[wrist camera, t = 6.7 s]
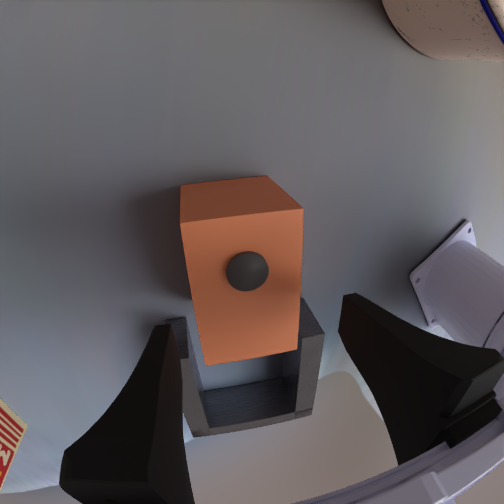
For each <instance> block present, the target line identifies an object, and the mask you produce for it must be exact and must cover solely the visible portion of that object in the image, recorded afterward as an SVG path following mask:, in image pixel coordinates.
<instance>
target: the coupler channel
mask: <svg viewBox="0 0 504 504" xmlns="http://www.w3.org/2000/svg"><path fill="white" fill-rule="evenodd" d="M165 324H171V327H172V331H173V335H174V339H175V342H176V346H177V350H178V353H179V357H180V361H181V371H182V381H183V404H182V411H183V413H184V416H185V418H186V421H187V423H188V426H189V428H190V431H191V433H192V435H193V437H201V436H209V435H216V434H223V433H229V432H235V431H241V430H247V429H252V428H257V427H262V426H267V425H272V424H276V423H281V422H285V421H290V420H293V419H297V418H301V417H305V416H309V415H311V414H312V409H313V403H314V398H315V392H316V386H317V381H318V375H319V368H320V362H321V356H322V349H323V342H324V335H325V333H324V332H323V330H322V328H321V327H320V325H319V323H318V322H317V320H316V318H315V317H314V315H313V313H312V312H311V310H310V308H309V307H308V305H307V303H306V302H305V300H304V298H303V299H300V313H299V329H298V344H297V350H292V351H287V352H283V363H282V377H281V378H276V379H271V380H266V381H261V382H256V383H251V384H245V385H240V386H234V387H228V388H221V389H215V390H208V391H204V390H203V387H202V383H201V379H200V375H199V371H198V367H197V363H196V359H195V355H194V351H193V346H192V342H191V338H190V333H189V329H188V324H187V320H186V317H185V318H177V319H170V320H165Z"/></svg>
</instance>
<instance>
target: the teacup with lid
mask: <svg viewBox="0 0 504 504" xmlns="http://www.w3.org/2000/svg"><path fill="white" fill-rule="evenodd" d="M382 3H383V6H384V8H385V11H386V13H387V15H388V17H389V19H390V20H391V22H392V24H393V25H394V27H395V28H396V30H397V31H398V32H399V33H400V35H401V36H402V37H403V38H404V39H405V40H406V41H407V42H408V43H409V44H410V45H411V46H412V47H414V48H415V49H416V50H418V51H419V52H421V53H423V54H424V55H426V56H429V57H431V58H435V59H458V60H485V61H499V62H504V0H382Z"/></svg>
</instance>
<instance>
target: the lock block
mask: <svg viewBox="0 0 504 504" xmlns="http://www.w3.org/2000/svg"><path fill="white" fill-rule="evenodd" d="M180 227H181V234H182V241H183V247H184V253H185V260H186V266H187V272H188V278H189V283H190V289H191V295H192V300H193V306H194V311H195V316H196V321H197V326H198V331H199V336H200V341H201V346H202V351H203V356H204V360H205V365H206V366H208V365H214V364H221V363H227V362H234V361H240V360H245V359H251V358H257V357H262V356H267V355H272V354H277V353H282V352H287V351H292V350H297V344H298V329H299V313H300V295H301V274H302V247H303V208H302V207H301V206H300V205H299V204H298V203H297V202H296V201H295V200H294V199H293V198H291V197H290V196H289V195H288V194H287V193H286V192H285V191H284V190H283V189H282V188H280V187H279V186H278V185H277V184H276V183H275V182H274V181H273V180H271V179H270V178H269V177H268V176H260V177H249V178H238V179H229V180H219V181H211V182H202V183H194V184H186V185H181V190H180Z"/></svg>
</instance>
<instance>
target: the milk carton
mask: <svg viewBox="0 0 504 504" xmlns="http://www.w3.org/2000/svg"><path fill="white" fill-rule="evenodd" d="M27 428H28V425H27V424H26V423H24V422H23V421H22V420H21V419H20V418H19V417H18V416H17V415H16V414H15V413H14V412H13V411H12V410H11V409H10V408H9V407H8V406H7V405H6V404H5V403H4V402H3V401H2V400H1V399H0V491H1V488H2V486H3V483H4V481H5V478H6V476H7V473H8V471H9V468H10V466H11V464H12V461H13V459H14V457H15V455H16V452H17V450H18V448H19V445H20V443H21V441H22V439H23V436H24V434H25V432H26V430H27Z"/></svg>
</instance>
